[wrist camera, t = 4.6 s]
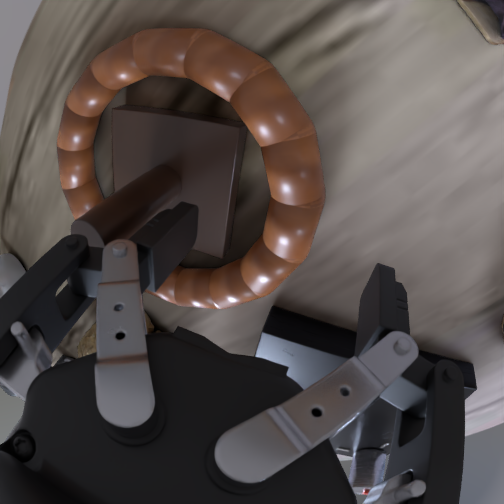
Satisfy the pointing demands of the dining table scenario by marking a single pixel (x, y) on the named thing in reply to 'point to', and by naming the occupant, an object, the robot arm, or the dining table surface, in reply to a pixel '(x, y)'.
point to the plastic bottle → (9, 272)
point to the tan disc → (503, 327)
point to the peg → (169, 175)
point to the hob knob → (366, 470)
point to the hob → (328, 359)
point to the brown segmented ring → (255, 118)
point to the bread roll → (487, 18)
